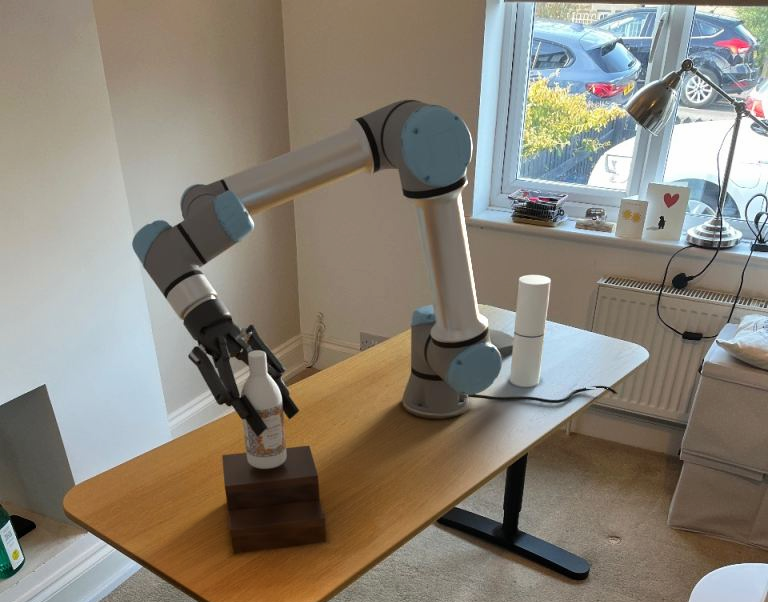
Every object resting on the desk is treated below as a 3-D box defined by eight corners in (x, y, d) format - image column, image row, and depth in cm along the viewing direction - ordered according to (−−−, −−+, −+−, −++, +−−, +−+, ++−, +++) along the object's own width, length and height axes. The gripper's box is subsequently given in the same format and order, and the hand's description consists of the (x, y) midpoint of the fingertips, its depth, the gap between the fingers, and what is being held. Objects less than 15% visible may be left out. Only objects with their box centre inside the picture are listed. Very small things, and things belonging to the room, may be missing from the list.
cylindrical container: (504, 381, 188) (512, 279, 174) (520, 372, 192) (530, 272, 178) (528, 389, 184) (539, 286, 170) (544, 380, 188) (556, 279, 174)
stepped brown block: (312, 490, 147) (309, 445, 142) (326, 541, 133) (323, 493, 128) (228, 501, 144) (222, 454, 139) (233, 554, 131) (226, 505, 125)
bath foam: (257, 474, 131) (246, 365, 120) (240, 457, 136) (228, 351, 125) (293, 463, 134) (285, 355, 123) (275, 447, 139) (266, 342, 128)
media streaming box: (523, 351, 204) (524, 340, 202) (480, 363, 197) (480, 352, 196) (488, 334, 214) (488, 324, 212) (446, 345, 207) (446, 335, 206)
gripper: (235, 305, 137) (307, 411, 138) (144, 339, 124) (225, 455, 125) (253, 281, 131) (328, 392, 132) (160, 314, 118) (244, 436, 119)
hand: (278, 423), depth 129 cm, fingers closed on bath foam, 7 cm apart
